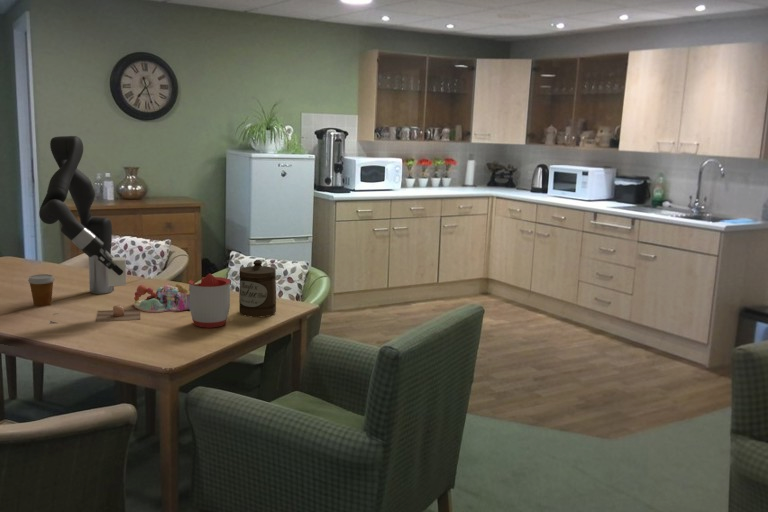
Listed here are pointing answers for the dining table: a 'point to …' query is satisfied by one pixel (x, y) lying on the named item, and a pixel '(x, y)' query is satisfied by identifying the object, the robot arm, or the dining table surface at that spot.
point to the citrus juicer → (209, 301)
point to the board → (108, 316)
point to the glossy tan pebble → (118, 310)
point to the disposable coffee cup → (41, 289)
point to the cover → (113, 276)
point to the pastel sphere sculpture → (163, 299)
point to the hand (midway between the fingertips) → (121, 271)
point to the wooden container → (257, 290)
